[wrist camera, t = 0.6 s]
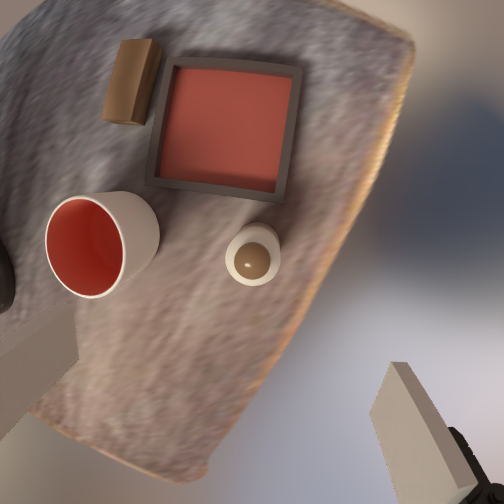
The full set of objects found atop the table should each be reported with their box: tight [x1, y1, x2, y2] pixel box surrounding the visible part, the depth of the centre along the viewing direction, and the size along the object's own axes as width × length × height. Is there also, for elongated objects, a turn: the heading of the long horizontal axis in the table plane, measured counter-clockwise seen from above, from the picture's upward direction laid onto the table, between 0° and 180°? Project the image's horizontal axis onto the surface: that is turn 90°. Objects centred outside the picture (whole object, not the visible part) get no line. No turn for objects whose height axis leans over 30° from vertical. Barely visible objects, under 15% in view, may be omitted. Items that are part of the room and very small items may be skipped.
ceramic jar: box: [225, 222, 281, 286], centre depth 31 cm, size 5×5×8 cm
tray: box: [145, 57, 303, 205], centre depth 31 cm, size 15×15×2 cm
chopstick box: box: [101, 39, 163, 126], centre depth 30 cm, size 4×10×4 cm, turn 169°
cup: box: [45, 191, 160, 298], centre depth 31 cm, size 10×10×10 cm
